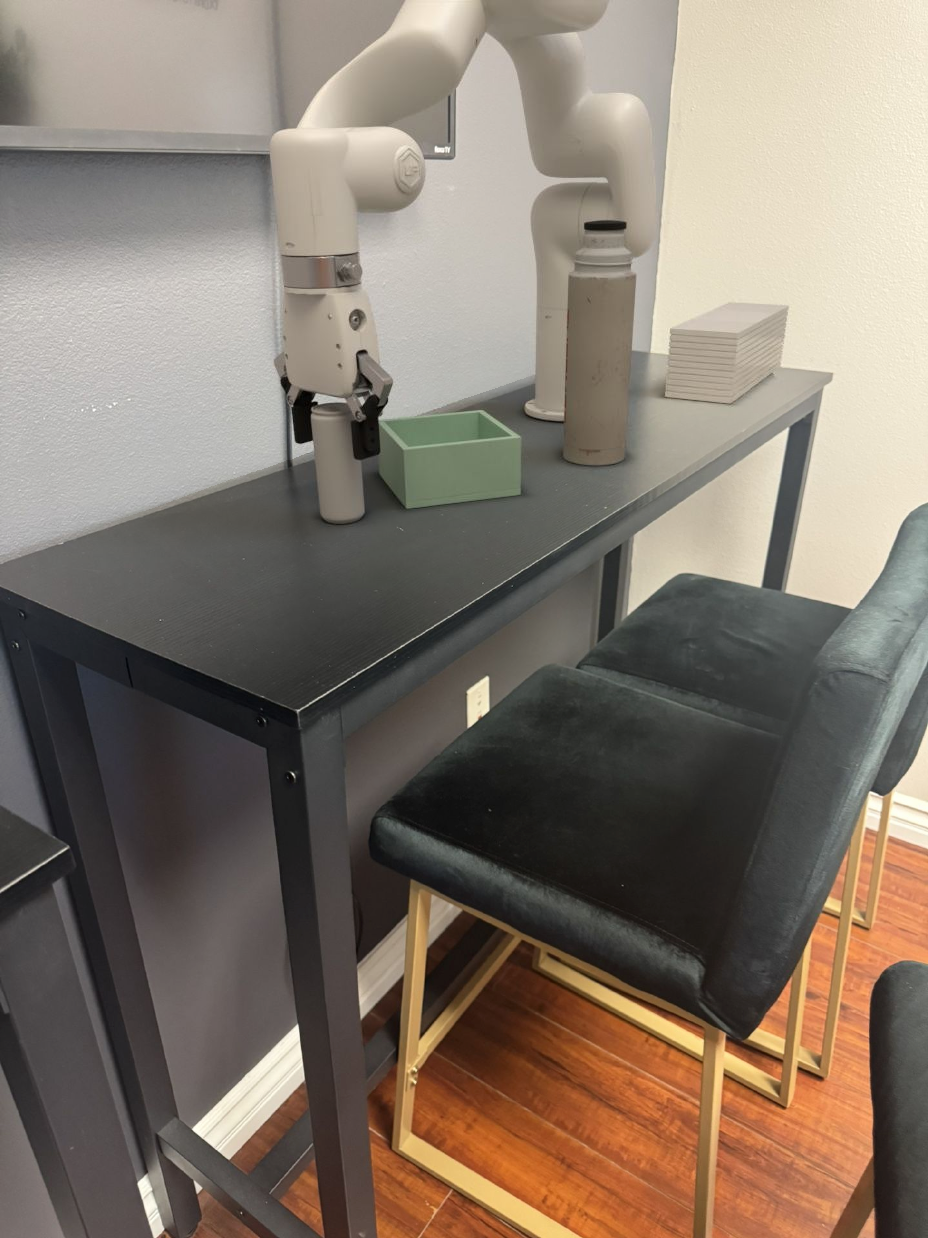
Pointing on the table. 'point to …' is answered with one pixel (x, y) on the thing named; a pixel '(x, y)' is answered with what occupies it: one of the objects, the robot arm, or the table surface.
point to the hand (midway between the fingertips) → (337, 448)
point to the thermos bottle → (599, 346)
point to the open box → (449, 458)
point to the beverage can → (336, 464)
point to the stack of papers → (725, 351)
